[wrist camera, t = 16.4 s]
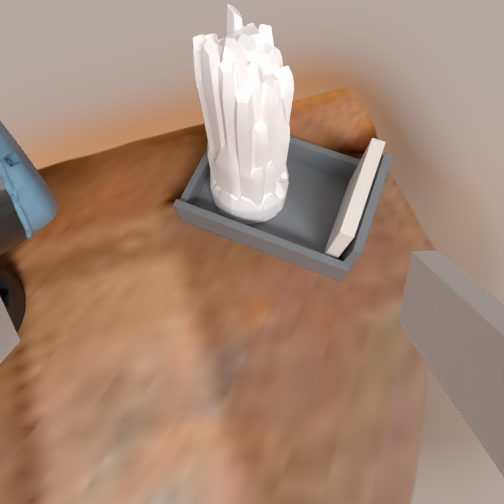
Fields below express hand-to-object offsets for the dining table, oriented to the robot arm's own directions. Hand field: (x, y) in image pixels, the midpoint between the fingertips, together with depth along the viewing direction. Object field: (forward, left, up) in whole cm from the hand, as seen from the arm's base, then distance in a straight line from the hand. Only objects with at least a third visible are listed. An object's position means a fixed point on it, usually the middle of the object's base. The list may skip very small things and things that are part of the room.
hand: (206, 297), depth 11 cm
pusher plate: (+7, +21, -32) cm, 38 cm away
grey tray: (-3, +21, -33) cm, 39 cm away
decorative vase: (-7, +21, -32) cm, 39 cm away
